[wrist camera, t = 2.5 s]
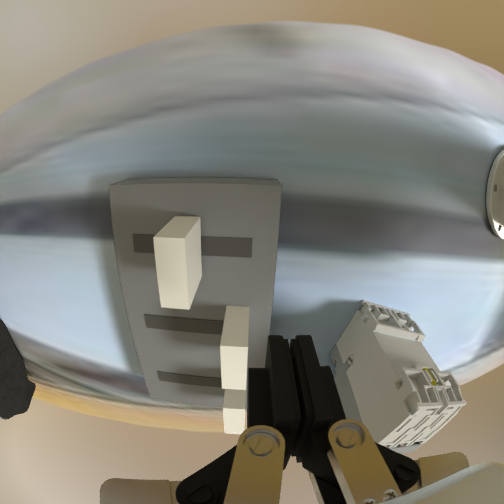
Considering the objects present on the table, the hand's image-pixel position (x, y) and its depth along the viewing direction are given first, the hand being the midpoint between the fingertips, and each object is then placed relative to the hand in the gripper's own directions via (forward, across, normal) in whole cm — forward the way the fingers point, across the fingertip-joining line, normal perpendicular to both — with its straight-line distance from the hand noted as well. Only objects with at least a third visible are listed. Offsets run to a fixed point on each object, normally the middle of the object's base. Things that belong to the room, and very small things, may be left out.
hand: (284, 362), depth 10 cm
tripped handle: (+12, +6, 0) cm, 14 cm away
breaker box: (+16, +6, +8) cm, 19 cm away
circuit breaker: (+16, -13, +15) cm, 26 cm away
